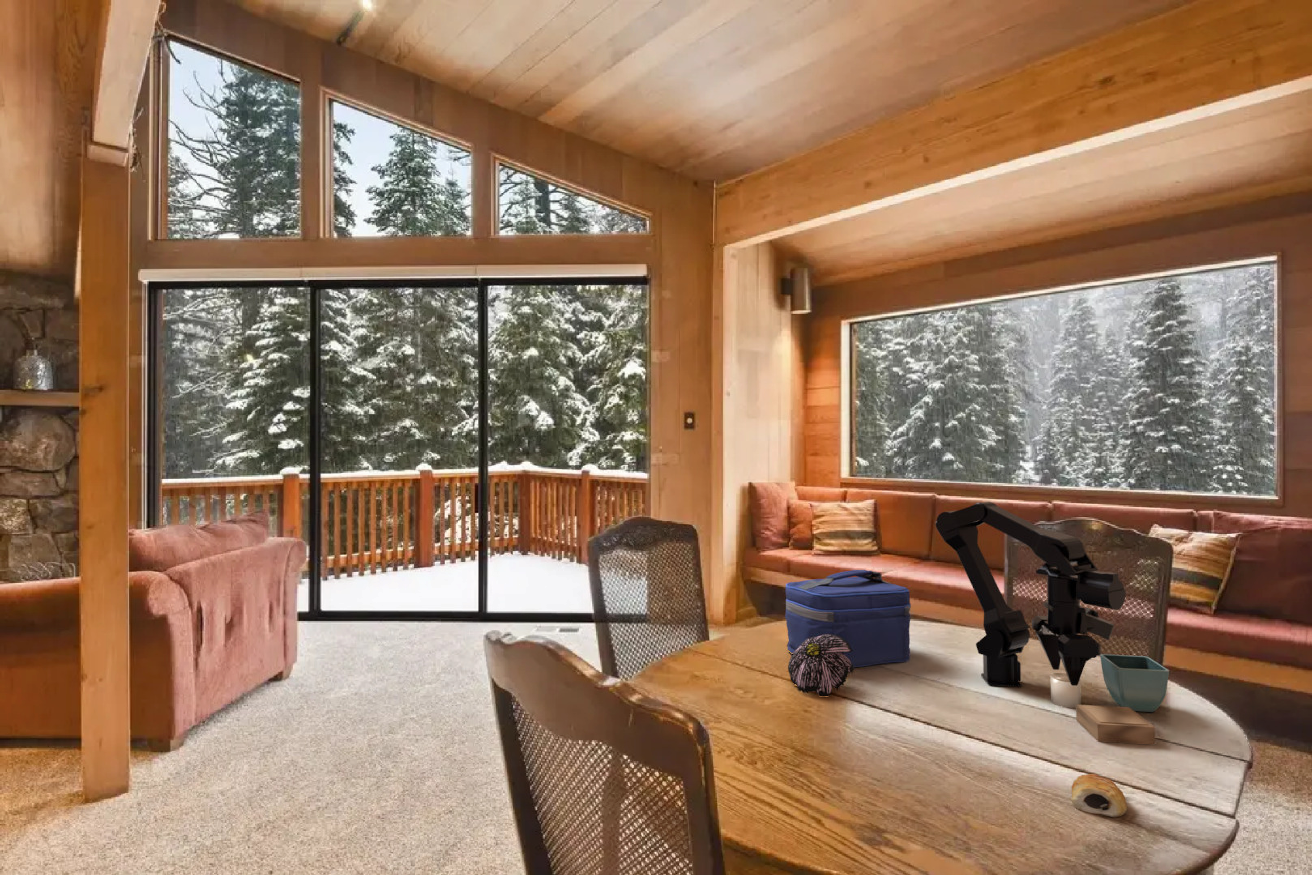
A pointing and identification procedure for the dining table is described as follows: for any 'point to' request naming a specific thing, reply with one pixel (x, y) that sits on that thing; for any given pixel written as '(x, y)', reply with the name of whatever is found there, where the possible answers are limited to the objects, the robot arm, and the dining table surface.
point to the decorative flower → (820, 664)
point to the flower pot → (1135, 681)
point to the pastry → (1098, 796)
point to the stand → (1115, 724)
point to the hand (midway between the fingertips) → (1064, 677)
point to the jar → (1064, 691)
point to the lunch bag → (852, 615)
